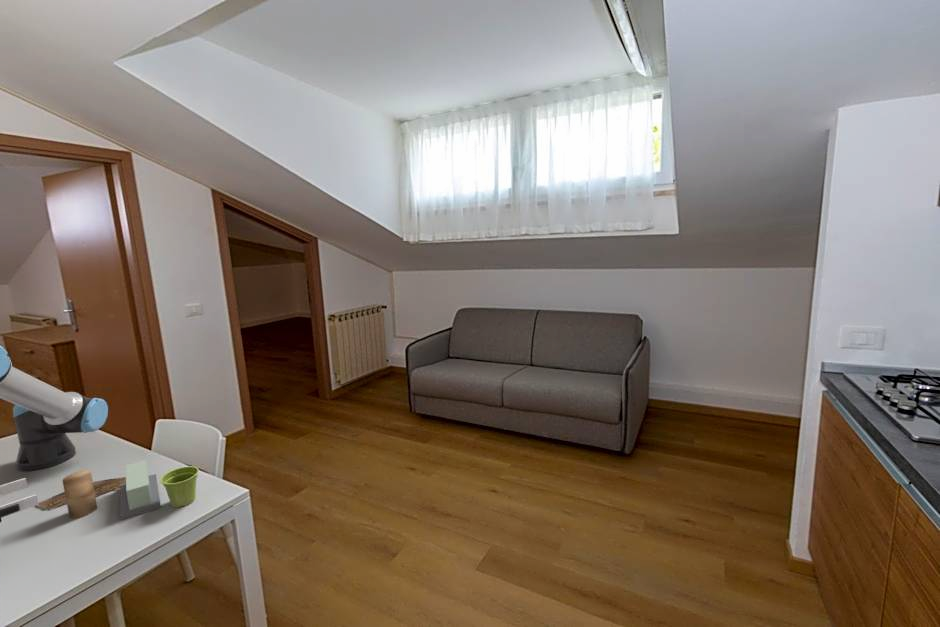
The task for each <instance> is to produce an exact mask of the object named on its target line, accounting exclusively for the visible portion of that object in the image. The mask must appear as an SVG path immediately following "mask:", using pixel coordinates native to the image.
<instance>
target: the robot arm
mask: <svg viewBox="0 0 940 627" xmlns="http://www.w3.org/2000/svg"><path fill="white" fill-rule="evenodd" d="M0 399H2V400H4V401H6V402H9V403H11V404H13V405H14V406H13V408H12V413H13V414H12V415H13V416H12V417H13V421H14V426H15V430H16V434H17V438H18V443H19V448H18V452H17V456H16V460H15V466H16V469H17V470H18V471H22V472H30V471H31V472H32V471H38V470H42V469H46V468H51V467H54V466H57V465H59V464H62V463H64V462H66V461H68V460H70V459H71V458H73V457H74V456H75V455H76V454H77V451H76V446H75V445H74V444H73V442H72V440H71V439H70V438H69V437H68V435H67V434H72V433H75V434H77V433H78V434H79V433H82V434H87V433H93V432H97V431H98V430H99V429H100V428H101V427H103V426H104V424H105V423H106V420H107V418H108V415H109V414H108V413H109V406H108V404H107V401H105V399H103V398H98V397H93V398H90V397H86V396H85V395H82V394H80V393H79V392H76V391H66V392H65V391H63V390H60V389H58V388H57V387H55V386H52V385H51V384H49V383H46V382H44V381H42V380H40V379H38V378H36V377H34V376H33V375H30V374H28V373H27V372H25V371H22V370H20V369H18V368H16V367H14V366H13V364H12V361H11V357H10V356H8V351H7V350H6V349H5V348H4V347H3V346H1V345H0ZM27 488H28V482H27V478H26V477H24V478H23V477H22V478H20V479H17V480H13V481H11V482H7V483H4V484H1V485H0V498H1V497H5V496H7V495H10V494H12V493H15V492H18V491H21V490H26V489H27ZM38 503H39V500H38V495H37V494H32V495H30V496H26V497H23V498H20V499H17V500H15V501H11V502H9V503H8V502H7V503H5V504H3V505H0V523H2V518H5V517H8V516H10V515H13V514H16V513H18V512H22V511H24V510H27V509H31V508H33V507H36V505H38Z"/></svg>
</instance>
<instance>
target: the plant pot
mask: <svg viewBox="0 0 940 627" xmlns="http://www.w3.org/2000/svg"><path fill="white" fill-rule="evenodd" d="M199 472H200V469H199V468H198V467H197V466H193V465H191V466H182V467H178V468H175V469H172V470H170V471H168V472H166V473H165V474H163V475H162V476H161V478H160V483H161V484H162V485H163V487H164V488H165V490H166V494H167V497H168V500H169V503H170V506H171V507H173V508H180V507H182V506H183V507H185V506H187V505H190V504H191V503H193V502H195V500H196V497H197V496H196V494H197V478H198V474H199Z"/></svg>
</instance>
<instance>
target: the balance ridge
mask: <svg viewBox="0 0 940 627" xmlns="http://www.w3.org/2000/svg"><path fill="white" fill-rule="evenodd" d="M125 477H126V483H122V484H121V488H120V509H119V510H120V512H119V513H120V520H121V521H123V520H126V519H129V518H132V517H134V516H137V515H141V514H144V513H147V512H150V511H153V510H156V509H159V508H161V507H162V505H161V499H160V492H159V486H158V481H157V474H156V473H154V474H150V475H149V472H148V465H147V460H146V459H144V460H142V461H137V462H134V463H130V464H129V463H128V464H127V465H126V464H125Z"/></svg>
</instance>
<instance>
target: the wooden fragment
mask: <svg viewBox="0 0 940 627" xmlns="http://www.w3.org/2000/svg"><path fill="white" fill-rule="evenodd" d="M122 483H126V476H123V477H118V478H117V477H115V478H109V479H108V478H107V479H103V480H98V481H93V487H94V492H95V498H96V497H98V496H100V495H104V494H107V493H109V492H113V491H116V490H117V491H118V490H119V489H121V484H122ZM64 505H67V502H66V497H65V492H64V491H63V492H61V493H58V494H56V495H53V496H51V497H49V498H47V499H44V500H41V501H38V505H36V506H35V507H36V508H37V509H38V508H42V509H41V510H43V511H51V510H53V509H56V508H58V507H61V506H64ZM52 508H53V509H52ZM46 509H48V510H46ZM50 509H51V510H50Z"/></svg>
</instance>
